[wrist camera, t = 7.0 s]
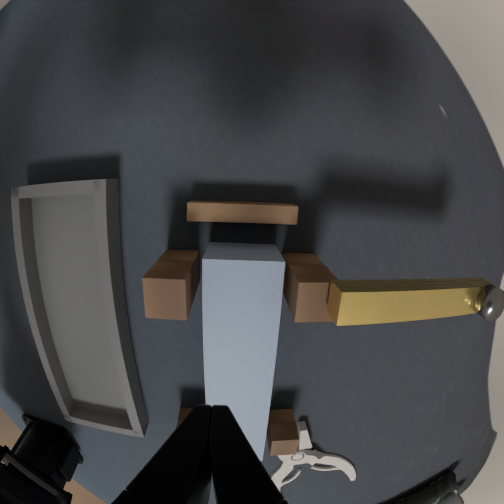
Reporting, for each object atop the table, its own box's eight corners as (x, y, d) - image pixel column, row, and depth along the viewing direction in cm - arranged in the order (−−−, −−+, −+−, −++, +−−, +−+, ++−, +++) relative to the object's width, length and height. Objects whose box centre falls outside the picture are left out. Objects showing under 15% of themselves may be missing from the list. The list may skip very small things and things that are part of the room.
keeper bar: (326, 313, 13) (343, 341, 11) (331, 276, 13) (351, 298, 10) (475, 303, 14) (500, 320, 11) (482, 275, 13) (509, 289, 11)
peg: (211, 425, 22) (209, 460, 18) (209, 240, 18) (202, 258, 14) (258, 426, 22) (262, 460, 18) (274, 243, 18) (285, 261, 14)
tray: (73, 406, 21) (65, 420, 19) (27, 185, 16) (10, 187, 14) (148, 421, 21) (144, 437, 19) (119, 178, 16) (106, 178, 14)
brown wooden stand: (182, 422, 21) (174, 469, 16) (166, 200, 17) (139, 210, 12) (289, 424, 22) (299, 470, 17) (317, 205, 17) (348, 217, 12)
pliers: (278, 507, 25) (231, 449, 21) (277, 497, 26) (231, 436, 22) (358, 484, 24) (343, 416, 21) (355, 475, 26) (338, 404, 22)
